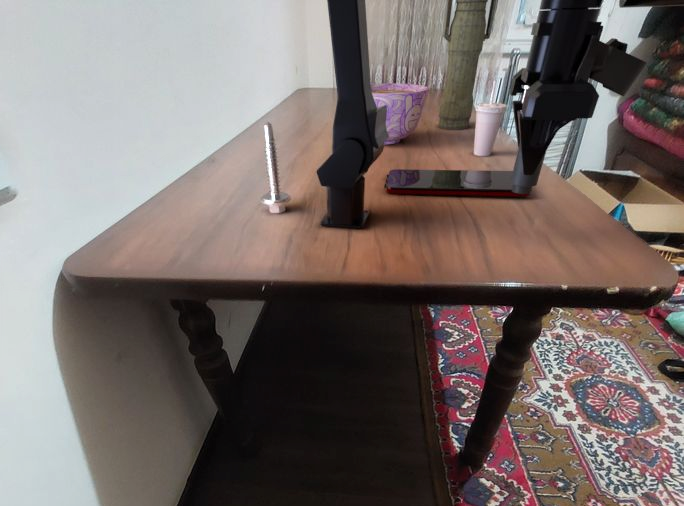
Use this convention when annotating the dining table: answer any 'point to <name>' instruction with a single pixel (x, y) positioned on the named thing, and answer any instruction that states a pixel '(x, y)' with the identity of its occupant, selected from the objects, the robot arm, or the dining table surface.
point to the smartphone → (451, 182)
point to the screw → (273, 175)
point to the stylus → (524, 176)
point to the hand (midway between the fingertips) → (526, 170)
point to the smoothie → (487, 125)
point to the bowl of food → (400, 107)
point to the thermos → (463, 59)
